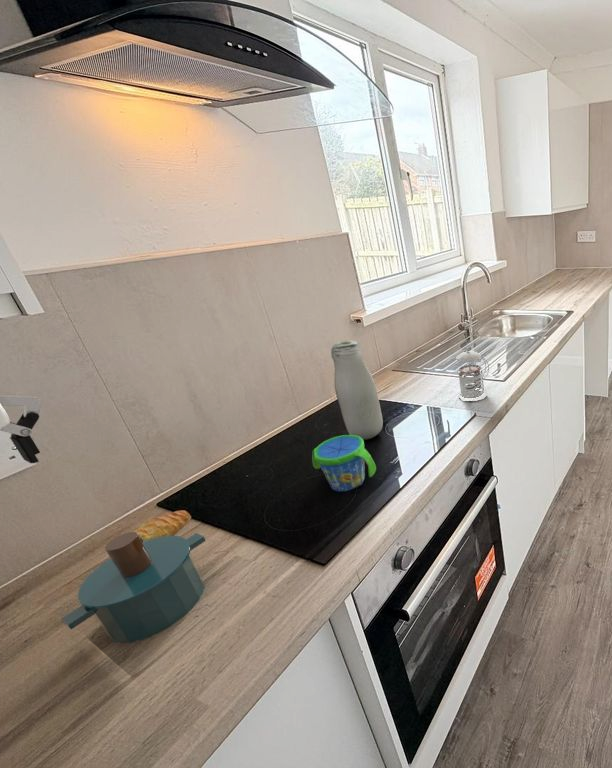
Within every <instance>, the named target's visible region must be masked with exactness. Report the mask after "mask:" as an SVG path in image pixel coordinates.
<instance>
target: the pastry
mask: <svg viewBox="0 0 612 768" xmlns="http://www.w3.org/2000/svg"><path fill="white" fill-rule="evenodd" d="M191 519H192V516H191V514H190V513H189V512H188V511H186V510H184V509H183V510H176V511H173V512H168V513H166V514H163V515H159V516H158V517H155V518H150V519H149V520H147V522H145V523H142V524H140V525H138V528H137V529H134V530H133V531H131V532H136V533H137V534H138V536H139V537H140V539H141V541H142V542H144V541H147V540H150V539H154V538H158V537H163V536H175V534H177V533H178V532H179V531H180V530H182V528H184V527H185V526H186V525H188V523H189V522H190V521H191Z"/></svg>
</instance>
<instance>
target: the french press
mask: <svg viewBox="0 0 612 768" xmlns="http://www.w3.org/2000/svg"><path fill="white" fill-rule="evenodd" d="M461 326H462V327H464V333H465V334H467V327H468V326H469V323H468V322H467V321H463V322H462V323H461ZM465 340H466V342H468V337H467V335H465ZM466 349H467V351H462V352H461V353H460V354H458V355H456V356H455V360H456V361H457V362H458V363H459V362H460V363H468V364H465V365H462V366H461V367H459V368H458V380H459V388H460V394H461V396H462V397H464V398H476V397H479V396H481V395H482V394H483V393H484V391H485V386H484V385H485V383H484V380H485V379H486V377H487V376H488V375H489V371H490V364H489V361H488V360H487V359H486V358H483V357H482V354H481V353H479V352H477V351H472V350H469V346H468V343H466ZM482 360H483V362H484V365H485V366H484V367H485V368H484V372H483V370H481V369H482V367H481V366H480V365H479V364H471V363H472V362H476V361H477V362H478V363H481V362H482ZM486 372H487V373H486ZM485 374H486V375H485ZM484 375H485V376H484ZM476 388H479V389H477V390H475V389H476ZM480 389H482V391H479V390H480ZM457 398H458V400H459V401H461V402H464V403H466V402H465V401H462V400H460V399H459V396H458V397H457Z"/></svg>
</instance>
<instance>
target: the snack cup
mask: <svg viewBox="0 0 612 768" xmlns="http://www.w3.org/2000/svg"><path fill="white" fill-rule="evenodd" d="M311 460H312V466H313V468H314V470H319V469H321V470H322V472H323V474H324V476H325V478H326V480H327V483H328V484H329V486H330V488H331V489H332V490H333V491H335V492H339V493H340V492H349V491H352V490H354V489H357V488H359V487H360V486H362V485H363V483H364V481H365V479H366V472H365V471H366V469H365V467H366V466H365V464H366V465H367V468H368V469H367V471H368V478H372V477H373V476H374V475H375V473H376V472H377V466H376V463H375V461H374V459H373V457H372V455H371V454H370V453H369V451H368V450H367V449H366V448H365V440H363V439H362V438H361V437H359V436H356V435H350V434H343V435H336V436H333V437H330V438H328V439H326V440H324V441H322V442H321V443H320V444H318V446H316V447H315V448H314V449H313V450H312V452H311Z"/></svg>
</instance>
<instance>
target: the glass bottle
mask: <svg viewBox="0 0 612 768" xmlns="http://www.w3.org/2000/svg"><path fill="white" fill-rule="evenodd" d="M362 351H363V350H362V349H361V347H360V344H359V342H357V341H355V340H342V341H339V342H336V343H335V344H333V345H332V347H331V350H330V353H331V354H330V356H331V358H332V360H333V366H334V392H335V395H336V398H337V402H338V406H339V408H340V412H341V416H342V419H343V422H344V425H345V428H346V430H347V433H348V435H356V436H359V437H361V438H362V439H363V441H366V440H370V439H373V438H374V437H376V436H377V435H379V434H380V433H381V431H382V430H383V427H384V426H383V425H384V420H383V414H382V410H381V404H380V400H379V395H378V391H377V390H378V389H377V386H376V383H375V380H374V377H373V375H372V373H371V372H370V370H369V369H368V367H367V365H366V362H365V361H364V358H363V355H362V354H363V353H362Z"/></svg>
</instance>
